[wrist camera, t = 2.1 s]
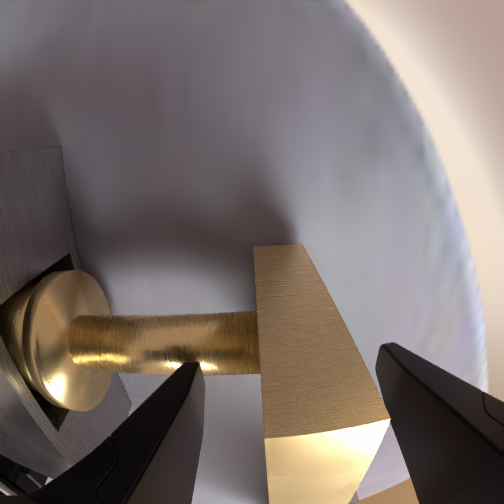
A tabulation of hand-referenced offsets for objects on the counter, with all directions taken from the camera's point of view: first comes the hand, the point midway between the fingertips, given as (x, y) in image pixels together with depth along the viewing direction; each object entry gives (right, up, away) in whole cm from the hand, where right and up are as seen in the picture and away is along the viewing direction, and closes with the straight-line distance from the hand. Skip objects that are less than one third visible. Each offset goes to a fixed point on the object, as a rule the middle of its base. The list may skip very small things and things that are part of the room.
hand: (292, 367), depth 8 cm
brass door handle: (-6, +1, +4) cm, 8 cm away
